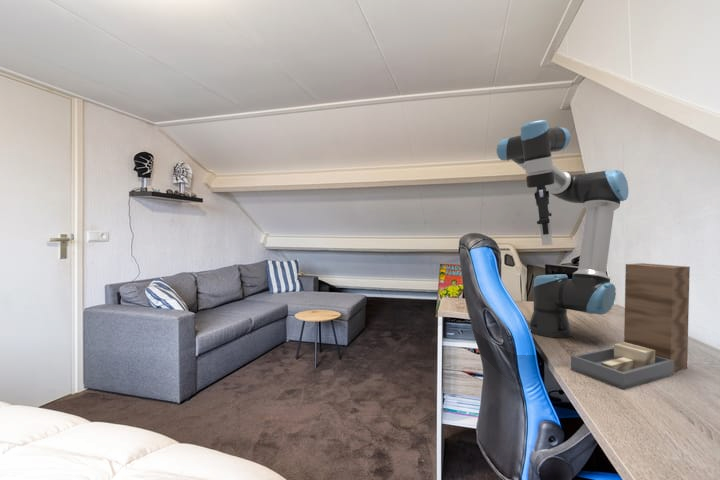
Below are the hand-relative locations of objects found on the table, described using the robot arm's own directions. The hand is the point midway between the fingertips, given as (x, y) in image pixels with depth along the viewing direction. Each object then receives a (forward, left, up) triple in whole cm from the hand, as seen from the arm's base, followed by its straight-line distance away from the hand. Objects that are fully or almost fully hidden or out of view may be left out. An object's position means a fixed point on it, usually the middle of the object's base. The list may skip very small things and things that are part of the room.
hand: (547, 240), depth 109 cm
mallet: (-1, +20, -36) cm, 41 cm away
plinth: (-15, +27, -37) cm, 49 cm away
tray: (-1, +19, -37) cm, 42 cm away
